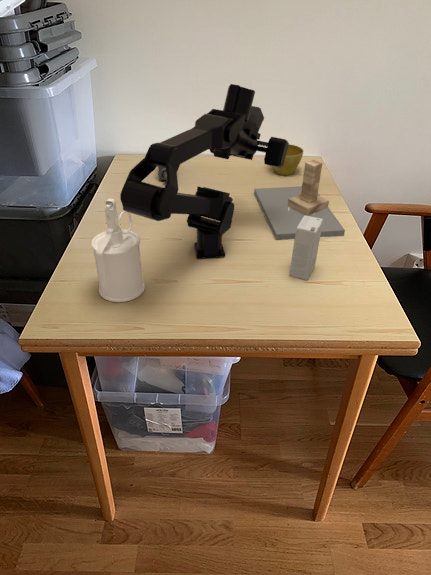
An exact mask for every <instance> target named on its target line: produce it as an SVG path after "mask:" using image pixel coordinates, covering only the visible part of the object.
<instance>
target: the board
mask: <svg viewBox="0 0 431 575" xmlns="http://www.w3.org/2000/svg"><path fill="white" fill-rule="evenodd" d="M253 190H254V192H253V194H254V196H255V198H257V199H256V201H257V200H258V201H257V203H258V204H259V207H260V209H261V211H262V214H263V215H264V218H265V220H266V222H267V224H268V225H269V228H270V230H271V232H272V234H273V236H274V239H275V240H276V241H279V240H293V239H294V240H295V235H296V228H297V226H298V225H299V223H300V222H301V220H302V218H303V217H304V216H306V215H304V214H302V213H300V212H298V211H296V210H294V209H292V208H290V207H288V206H287V205H288V199H290V198H292V197H295V196H298V195H301V191H302V186H301V185H300V186H283V187H281V186H278V187H259V188H254V189H253ZM318 196H320V197H322V196H321V195H320V193H318ZM308 216H311V217H316V218H321V219H323V224H322V230H321V235H320V238H326V237H328V238H329V237H342V236H345V232H346V230H345V228H344V227H343V225H342V223H340V221H339V220H338V219H337V217H336V216H335V215H334V213H333V212H332V210H331V209H330V208H329V206H328V208H325V209H323V210H320V211H318V212H315V213H313V214H310V215H308Z"/></svg>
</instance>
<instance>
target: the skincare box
mask: <svg viewBox="0 0 431 575" xmlns="http://www.w3.org/2000/svg"><path fill="white" fill-rule="evenodd" d="M322 224H323V219H321V218H316V217H311V216H304V217H303V218H302V220H301V222H300V223H299V225H298V226H297V228H296V235H295V239H294V241H293V247H292V248H293V249H292V256H291V262H290V267H289V268H290V269H289V276H290V277H293V278H297V279H300V280H303V281H304V280H305V281H308V280H309V278H310V277H311V274H312V272H313V270H314V269H315V267H316V262H317V258H318V257H317V256H318V253H319V245H320V240H321V237H320V235H321V230H322Z"/></svg>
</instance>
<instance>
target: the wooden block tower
mask: <svg viewBox="0 0 431 575" xmlns="http://www.w3.org/2000/svg"><path fill="white" fill-rule="evenodd" d="M322 169H323V163H322V162H320V161H318V160H314V159H312V160H311V159H310V160H308V161H305V162H304V169H303V175H302V191H301V195H298V196H295V197H292V198H290V199H288V205H287V206H288V207H290V208H292V209H294V210H296V211H298V212H300V213H302V214H304V215H306V216H308V215H310V214H313V213H315V212H318V211H320V210H323V209H325V208H328V207H329V205H330V204H329V203H330V200H329V199H327V198H324V197H323V196H321V195H320V196H321V197H320V196H318V194H319V190H320V189H319V187H320V182H321V177H322V176H321V175H322Z"/></svg>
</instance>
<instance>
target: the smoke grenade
mask: <svg viewBox="0 0 431 575" xmlns="http://www.w3.org/2000/svg"><path fill="white" fill-rule="evenodd" d="M104 204H105V207H104V213H105V219H106V221H105V224H106V227H107V228H106V230H104V231H102V232H100V233H98V234H96V235H95V236H94V237H93V238H92V239H91V241H90V246H91V249H92V251H93V255H94V260H95V266H96V267H95V268H96V273H97V278H98V284H99V285H98V286H99V287H98V294H99V295H100V296H101V297H102V298H103V299H104V300H106V301H107V302H108V301H109V302H112V303H126V302H130V301H133V300H136V299H137V298H139V296H141V295H142V294H143V293H144V291H145V288H146V286H145V281H144V280H143V279H144V278H143V268H142V259H141V250H140V244H141V237H140V235H138V234H137V233H136V232H135V231H132V226H133V219H132V215H131V213H129V212H126V211H124V210H123V211H122V212H121V213H120V214H119V216H118V210H117V209H118V208H117V202H116V201H115V199H114V198H108V199H106V200H105V203H104ZM124 214H127V216H128V217H129V218H128V220H129V226H128V228H127V229H125V228H122V227H121V223H120V221H121V220H122V217H123V215H124Z"/></svg>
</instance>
